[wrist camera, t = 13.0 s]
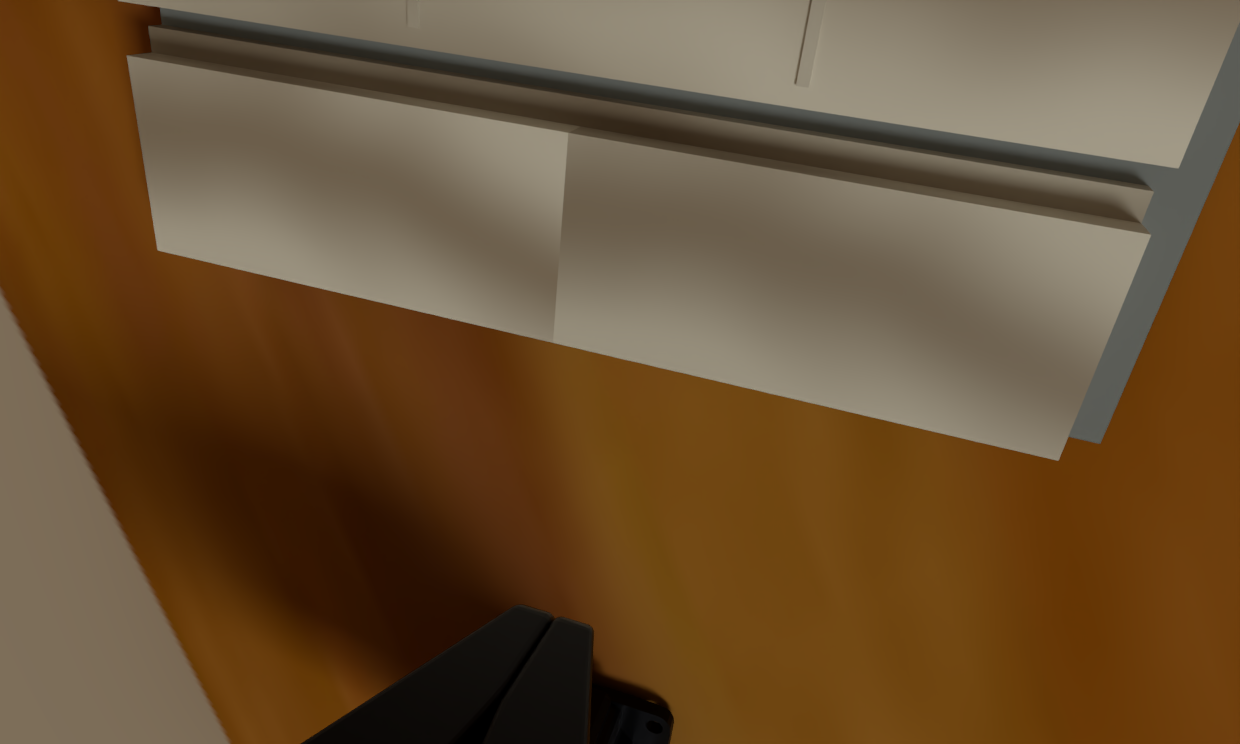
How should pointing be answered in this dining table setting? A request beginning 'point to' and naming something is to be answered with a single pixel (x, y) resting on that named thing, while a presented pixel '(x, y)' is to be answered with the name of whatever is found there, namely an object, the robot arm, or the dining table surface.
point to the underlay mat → (1165, 219)
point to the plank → (846, 56)
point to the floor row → (649, 231)
